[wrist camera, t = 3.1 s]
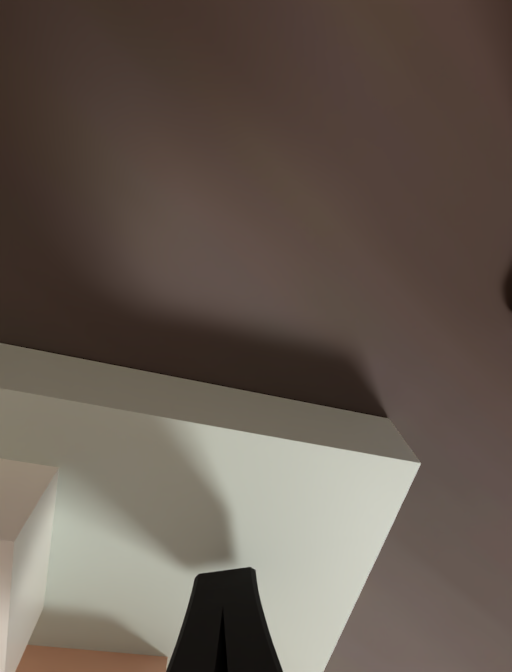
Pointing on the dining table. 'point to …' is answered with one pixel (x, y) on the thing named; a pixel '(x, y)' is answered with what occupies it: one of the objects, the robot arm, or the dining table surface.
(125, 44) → the dining table surface
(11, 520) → the tile cream
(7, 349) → the board
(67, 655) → the tile terracotta
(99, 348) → the dining table surface
